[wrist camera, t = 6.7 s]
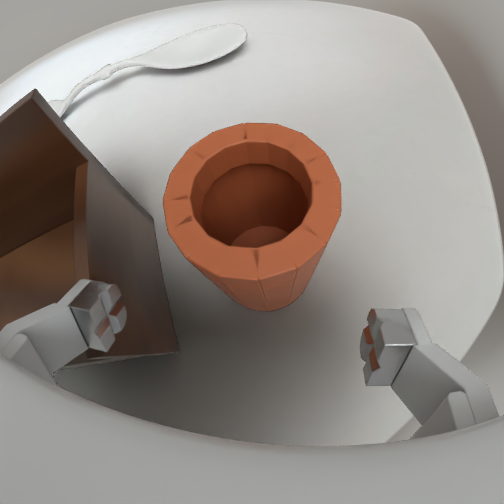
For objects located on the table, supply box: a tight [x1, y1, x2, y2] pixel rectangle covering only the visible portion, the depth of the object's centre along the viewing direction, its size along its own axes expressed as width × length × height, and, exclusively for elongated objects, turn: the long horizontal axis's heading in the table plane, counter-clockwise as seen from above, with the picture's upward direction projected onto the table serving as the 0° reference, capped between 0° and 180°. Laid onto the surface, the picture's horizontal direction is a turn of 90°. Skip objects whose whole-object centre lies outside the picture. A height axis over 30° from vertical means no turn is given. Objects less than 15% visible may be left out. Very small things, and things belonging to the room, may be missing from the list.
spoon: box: [47, 23, 247, 117], centre depth 25 cm, size 9×32×4 cm, turn 107°
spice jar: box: [163, 123, 341, 311], centre depth 14 cm, size 6×6×10 cm
